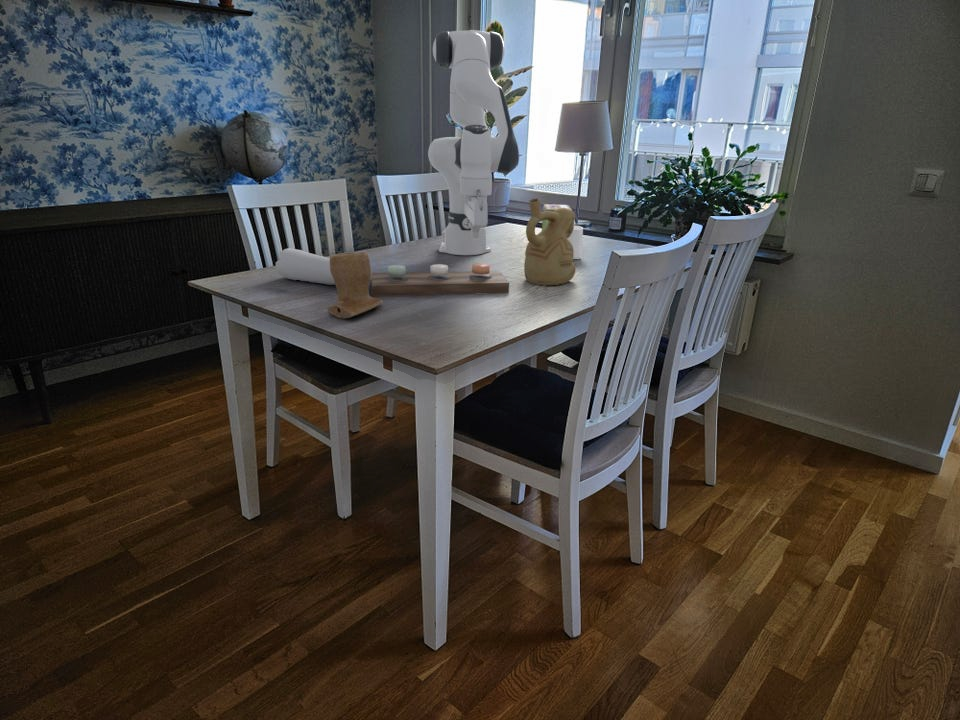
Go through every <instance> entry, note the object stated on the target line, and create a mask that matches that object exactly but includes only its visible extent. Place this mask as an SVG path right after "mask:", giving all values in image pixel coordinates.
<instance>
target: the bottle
mask: <svg viewBox="0 0 960 720" xmlns="http://www.w3.org/2000/svg"><path fill="white" fill-rule="evenodd" d="M278 256H279V259H278V260H277V261H275V269H276V270H277V271H276V272H278V274H279V275H280V276H282V277H284V278H285V279H287V280H292V281H296V280H300V281H299V282H307V281H308V282H309V283H313V284H314V283H316V284H322V285H328V286H329V285H330V286H336V285H335V282H334V279H333V277H332V274H331V271H330V257H326V256H322V255H319V254H314V253H311V252H307V251H305V250H301V249H295V248H292V247H288V248H285V249H283V250H282V251H280V252H279V253H278ZM370 285H372V273H371V277H370V282H369V286H370Z"/></svg>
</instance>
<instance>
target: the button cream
mask: <svg viewBox="0 0 960 720" xmlns="http://www.w3.org/2000/svg"><path fill="white" fill-rule="evenodd" d="M430 272H431V274H432V275H446V274H448V272H449V266H448V264H440V263H438V264H437V263H436V264H435V263H434V264H432V265H430Z"/></svg>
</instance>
